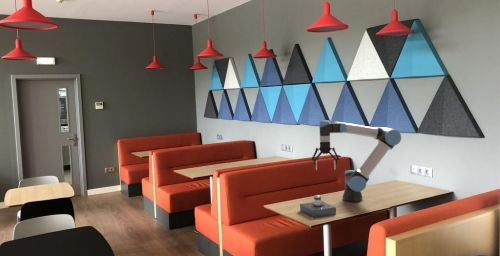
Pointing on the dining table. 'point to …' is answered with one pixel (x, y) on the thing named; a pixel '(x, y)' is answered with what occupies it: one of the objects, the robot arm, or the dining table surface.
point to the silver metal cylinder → (317, 200)
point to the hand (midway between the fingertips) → (325, 169)
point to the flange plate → (318, 209)
